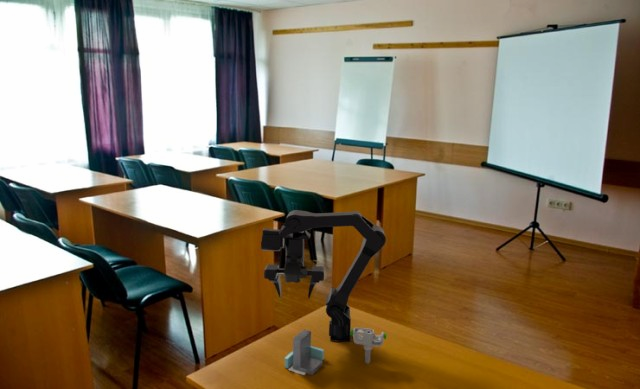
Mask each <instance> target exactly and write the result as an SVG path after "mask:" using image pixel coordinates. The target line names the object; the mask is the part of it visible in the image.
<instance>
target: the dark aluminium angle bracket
mask: <svg viewBox="0 0 640 389" xmlns="http://www.w3.org/2000/svg"><path fill="white" fill-rule="evenodd" d="M311 340H312V330H308V329H302V330H301V331H300V332H299V333H298V334H297V335H295V336H294V337H293V338H292V351H293V364H292V365H293V369H295V370H298V371H301V372H304V373H306V374H308V375H311V376H314V374H315V373H317V371H318V370H319V369H320V368H321V367H323V363H324V361H323V360H319V359H316V358H313V357H311V346H312V341H311Z"/></svg>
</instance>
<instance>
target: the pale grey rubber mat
mask: <svg viewBox="0 0 640 389" xmlns="http://www.w3.org/2000/svg"><path fill="white" fill-rule="evenodd" d="M287 369H288V371H291V372H293V373H296V374H300V375H302V376H305V375H306V374H307V373H304V372H301V371H298V370H295V369H293V364H292V365H291V366H290V367H289V368H287Z"/></svg>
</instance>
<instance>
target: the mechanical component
mask: <svg viewBox="0 0 640 389" xmlns="http://www.w3.org/2000/svg"><path fill="white" fill-rule="evenodd" d="M350 331H351V336H352V337H353V340H352V341H353V342H354V344H355V345H361V346H362V345H363V349H364V352H365V353H364V363H365V364H370V363H371V351H372V350H373V347H377V348H379V347H382V346H383V345H384V340H387V333H385V332H384V331H382V332H381V334H376V333H375V332H374V331H375V330H374V329H373V328H364V327H355V326H354V328H353V329H352V328H351V330H350Z"/></svg>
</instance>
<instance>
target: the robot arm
mask: <svg viewBox="0 0 640 389" xmlns="http://www.w3.org/2000/svg"><path fill="white" fill-rule="evenodd" d="M334 227H336V228H337V227H338V228H340V227H353V228H354V229H355V230H356V231H357V232H358V233H359V234H360V235H361V236H362V237H363V239H362V242H361V246H360V250H359V251H358V253H357V255H356V256H355V258H354V260H353V262H352V264H351V265H350V266H349V269H348V271H347V272H346V274H345V275H344V277H343V279H342V280H341V282H340V284H339V285H338V286H337V287H336V288H335V287H332V286H331V288H330V290H329V293H328V294H327V295H325V313H326V315H327V316H328V317H329V318H330V320H329V322H328V323H329V325H328V336H329V337H330V338H329V340H330V342H351V340H352V338H351V337H352V335H351V329H352V327H351V323H352V322H351V320H352V318H351V307H350V306H349V305H348V302H349V299H350V295H351V293H352V291H353V289H354V288H355V286H356V285H357V283H358V281H359V279H360V278H361V276H362V274H363V272H364V271H365V269H366V268H367V266H368V264H369V263H370V261H371V259H372V258H373V257H374V256H375V255H377V254H378V253H379V252H380V251H381V249H383V247H384V246H385V244H386V241H387V238H386V235H385V231H384V229H383V228H382V227H381V226H380V225H377V224H376V225H375V224H374V223H373V222H371V221H370V219H367V218H366V217H365V216H363V215H362V214H361V213H360V212H359V211H358V210H357V211H356V210H353V211H343V212H322V213H320V212H317V213H314V212H310V211H307V210H300V209H299V210H298V209H294V210H291V211H290V212H289V213H288V214H287V216H286V218H285V221H284V224H283V225H281V228H280V229H275V228H273V229H272V228H271V229H270V228H263V230H262V236H261V241H260V249H261V251H268V252H270V251H271V252H273V251H274V252H280V251H281V250H282V249H284V248H285V263H284V267H283V268H281V267H280V265H279V264H269V263H268V264H267V265H266V266H265V268H264V271H263V279H266V280H268V281H269V282H271V283H273V286H274V287H275V289H276V292H277V295H278V298H281V296H282V285H281V284H282V283H281V276H283V277H284V282H285V283H296V284H297V283H300V282H301V280H302V279H304V278H305V279H307V278H308V277H307V276H309V277H310V281H309V287H308V288H309V289H308V292H307V293H308V294H307V296H308V297H307V299H310V298H311V295H312V292H313V289H314V287H315V286H316V285H317V284H319V283H320V282H323V281H325V272H326V271H325V267H324V266H321V265H312V266H311V269H308V266H307V265H305V240H310V238H311V233H310V232H308V230H312V229H315V228H316V229H317V228H334Z"/></svg>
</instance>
